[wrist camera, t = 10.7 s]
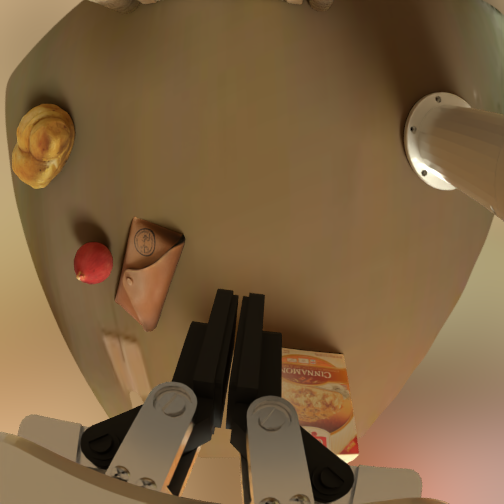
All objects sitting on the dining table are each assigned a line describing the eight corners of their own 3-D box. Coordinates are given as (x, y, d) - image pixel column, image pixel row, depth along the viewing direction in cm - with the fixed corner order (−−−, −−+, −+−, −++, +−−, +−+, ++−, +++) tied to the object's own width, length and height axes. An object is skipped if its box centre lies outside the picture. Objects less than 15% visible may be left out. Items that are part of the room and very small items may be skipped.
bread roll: (56, 195, 36) (22, 216, 29) (21, 158, 33) (-13, 173, 26) (93, 127, 31) (55, 137, 24) (54, 89, 28) (15, 94, 21)
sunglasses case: (130, 212, 36) (134, 241, 32) (178, 218, 40) (189, 246, 36) (113, 303, 45) (118, 335, 40) (152, 305, 49) (160, 335, 44)
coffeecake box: (344, 353, 46) (361, 454, 30) (330, 377, 50) (340, 470, 33) (259, 342, 46) (250, 451, 29) (252, 368, 50) (242, 466, 33)
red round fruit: (121, 270, 41) (97, 303, 34) (90, 261, 41) (64, 290, 34) (122, 237, 38) (94, 267, 31) (89, 228, 38) (59, 255, 31)
